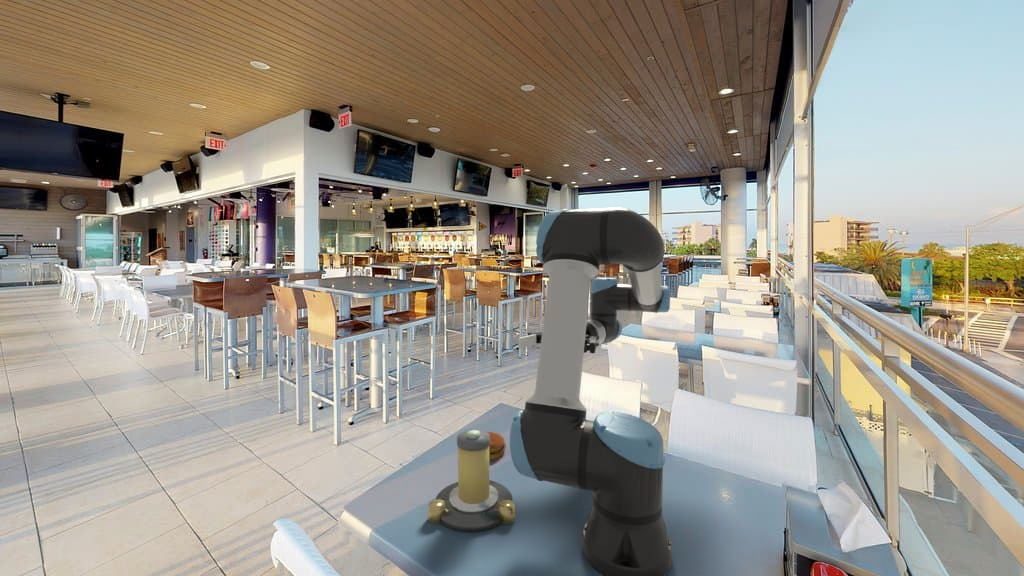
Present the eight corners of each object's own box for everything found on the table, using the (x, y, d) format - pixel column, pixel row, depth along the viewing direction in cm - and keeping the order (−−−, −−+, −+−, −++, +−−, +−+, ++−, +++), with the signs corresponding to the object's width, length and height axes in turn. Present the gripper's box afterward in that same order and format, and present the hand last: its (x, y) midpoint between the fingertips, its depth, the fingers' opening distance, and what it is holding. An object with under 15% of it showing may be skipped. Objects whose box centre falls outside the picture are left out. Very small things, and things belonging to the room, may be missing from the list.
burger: (497, 442, 116) (497, 425, 116) (511, 456, 108) (511, 439, 107) (463, 449, 112) (463, 432, 112) (475, 464, 104) (475, 446, 103)
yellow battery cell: (496, 498, 84) (495, 435, 83) (465, 508, 81) (464, 442, 80) (482, 482, 90) (481, 423, 89) (452, 491, 87) (452, 430, 86)
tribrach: (528, 517, 82) (528, 502, 82) (444, 547, 74) (443, 531, 74) (490, 477, 97) (490, 465, 97) (416, 498, 89) (416, 485, 88)
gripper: (628, 355, 108) (586, 371, 92) (549, 342, 124) (502, 354, 108) (628, 326, 107) (586, 338, 91) (550, 317, 124) (502, 326, 108)
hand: (540, 347), depth 100 cm, fingers open, 13 cm apart
